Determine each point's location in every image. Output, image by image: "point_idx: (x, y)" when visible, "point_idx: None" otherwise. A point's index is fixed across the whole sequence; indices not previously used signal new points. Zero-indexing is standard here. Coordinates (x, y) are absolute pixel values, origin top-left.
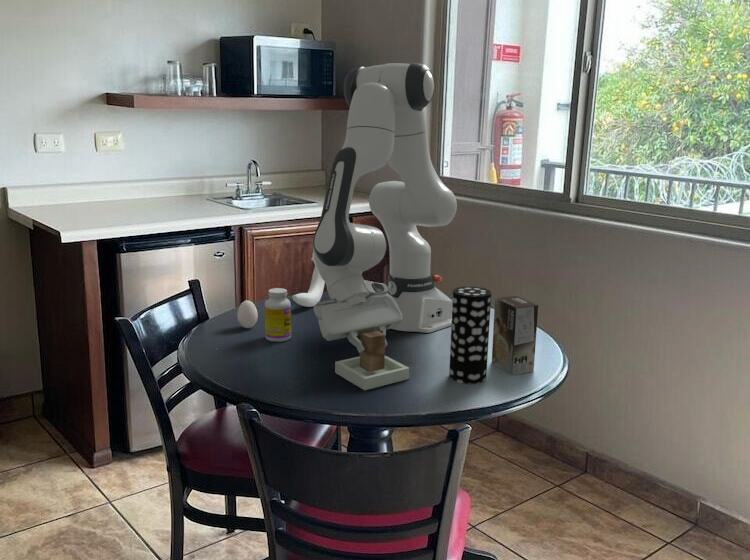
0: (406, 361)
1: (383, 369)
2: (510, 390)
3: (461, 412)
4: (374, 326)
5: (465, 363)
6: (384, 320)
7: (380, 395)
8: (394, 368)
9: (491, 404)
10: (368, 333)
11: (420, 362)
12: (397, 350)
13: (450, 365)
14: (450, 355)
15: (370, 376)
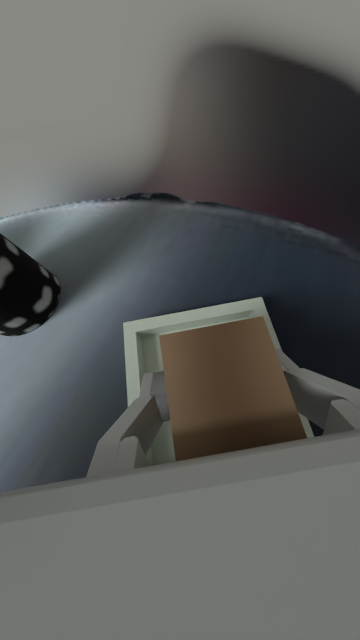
0: (68, 450)
1: None
2: (16, 233)
3: (134, 195)
4: (183, 460)
5: (16, 246)
6: (44, 519)
7: (227, 278)
8: (143, 372)
9: (79, 204)
10: (250, 394)
11: (42, 423)
12: None
13: (32, 294)
14: (6, 286)
15: (242, 305)
